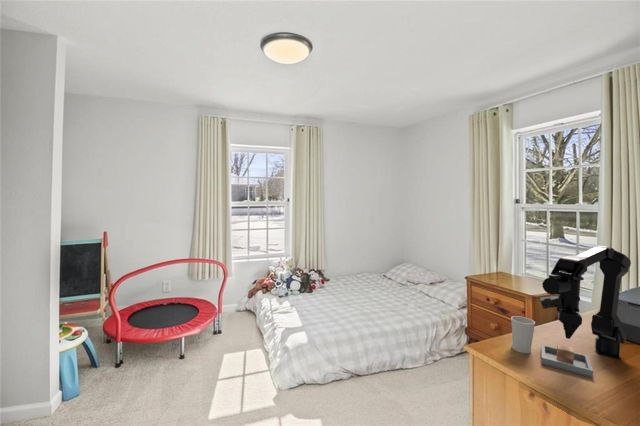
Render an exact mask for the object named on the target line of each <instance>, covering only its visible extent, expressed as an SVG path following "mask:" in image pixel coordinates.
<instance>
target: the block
mask: <svg viewBox="0 0 640 426" xmlns="http://www.w3.org/2000/svg"><path fill="white" fill-rule="evenodd" d="M556 348H557V361H561V362H565V363H569V364H573V361H574V352H575V351H574V347H571V346H566V345H563V344H558V343H557V345H556Z"/></svg>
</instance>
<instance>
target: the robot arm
mask: <svg viewBox="0 0 640 426" xmlns="http://www.w3.org/2000/svg"><path fill="white" fill-rule="evenodd" d="M596 263H599V269H600V271H601V273H602V274H603V282H602V289H601V290H602V292H601V297H600V305H599V311H598V312H597V313H596V314H592V316H591V321H590V328H591V333H592V335H594V336H596V337H595V339H594V349H595V350H596V352H597V354H599V355H602V356H608V357H611V358H615V359H621V356H620V352H621V349H620V348H621V344H623V345H625V343H626V341H627V338H628V337H627V335H626V334H625V332H624V330H623V329H622V323H623V322H622V321H621V319H620V317H619V316H618V315H617V314H618V307H619V299H620V292H621V282H622V278H623V277H624V276H625V275H626V274H627V273H629V270H630V267H631V264H632V261H631V259H630V258H629V256H627V255H625V254H624V253H622V252H620V251H617V250H615V249H614V248H613V247H611V246H607V245H606V246H605V245H595V246H593V247H592V248H590V249H588V250H586V251H584V252H582V253H579V254H576V255H566V256H562V257H560V258H559V259H558V260H557V261H556V263H555V265H554V267H553V268H552V271H551V272H550V274H549V275H548V278H545V279H544V280H543V282H542V285H541V286H542V289H543V290H544V292H545V293H547V294H549V295H550V296H542V297H540V298H539V301H540V304H541V306H542V309H545V310H547V309H549V308H555V309H556V311H557V312H558V313H557V315H558V316H557V318H558V321H559V322H560V323H562V326H563V330H564V334H565V336H564V337H565V338H566V339H568V340H570V339H571V338H572V337H573V335H574V334H575V332H576V331H577V329H579V328H580V326H581V325H583V317H582V315H581V314H580V308H579V307H580V301H581V297H580V295H581V294H580V293H581V281H584V277H583V275H584V274H585V273H586V272H587V271H588V267H590V266H592V265H594V264H596Z"/></svg>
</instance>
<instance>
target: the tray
mask: <svg viewBox="0 0 640 426" xmlns="http://www.w3.org/2000/svg"><path fill="white" fill-rule="evenodd" d="M540 346H541V347H540V348H541V349H540V352H541V354H540V355H541V358H540V359H541V365H543V366H547V367H551V368H553V369H558V370H561V371H565V372H569V373H571V374H572V373H573V374H576V375H579V376H584V377H587V378H591V379H593V378H594V369H593V367H592V364H591V361H590V358H589V354H583V353H579V352H575V351H574V361H573V364H569V363H565V362H561V361H557V347H554V346H552V345H551V346H550V345H545V344H542V343H541V345H540Z"/></svg>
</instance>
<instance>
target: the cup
mask: <svg viewBox="0 0 640 426" xmlns="http://www.w3.org/2000/svg"><path fill="white" fill-rule="evenodd" d="M510 318H511V321H510V322H511V339H512V340H511V342H512V343H511V348H512V350H514V351H515V352H518V353H521V354H531V353H532V345H533V338H534V331H535V326H536V321H535V320H533V319H532V318H531V319H530V318H529V317H525V316H520V315H519V316H518V315H516V316H515V315H514V316H511V317H510Z"/></svg>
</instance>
